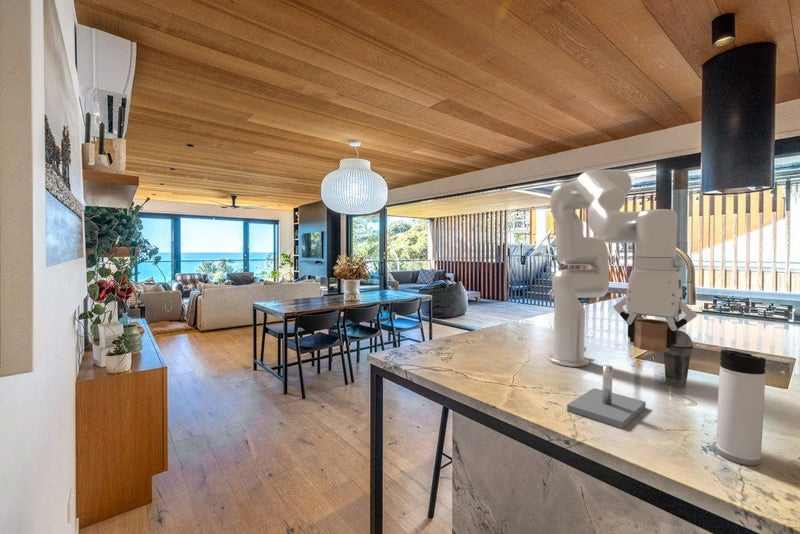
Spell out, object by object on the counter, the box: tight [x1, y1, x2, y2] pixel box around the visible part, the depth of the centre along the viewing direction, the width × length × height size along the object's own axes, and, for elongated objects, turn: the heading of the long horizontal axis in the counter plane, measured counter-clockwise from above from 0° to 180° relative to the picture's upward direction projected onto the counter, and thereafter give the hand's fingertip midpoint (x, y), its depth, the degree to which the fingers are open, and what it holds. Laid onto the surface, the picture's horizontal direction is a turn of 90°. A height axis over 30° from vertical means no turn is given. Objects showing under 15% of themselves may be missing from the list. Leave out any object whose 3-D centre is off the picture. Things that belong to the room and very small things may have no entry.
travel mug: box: [715, 349, 767, 467], centre depth 70 cm, size 6×7×20 cm
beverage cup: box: [663, 315, 694, 389], centre depth 106 cm, size 7×7×20 cm
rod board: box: [566, 387, 647, 430], centre depth 91 cm, size 16×12×2 cm
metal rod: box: [601, 364, 614, 405], centre depth 90 cm, size 2×2×9 cm
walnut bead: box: [632, 318, 670, 353], centre depth 85 cm, size 6×6×6 cm
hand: (651, 343), depth 85 cm, fingers closed on walnut bead, 6 cm apart
